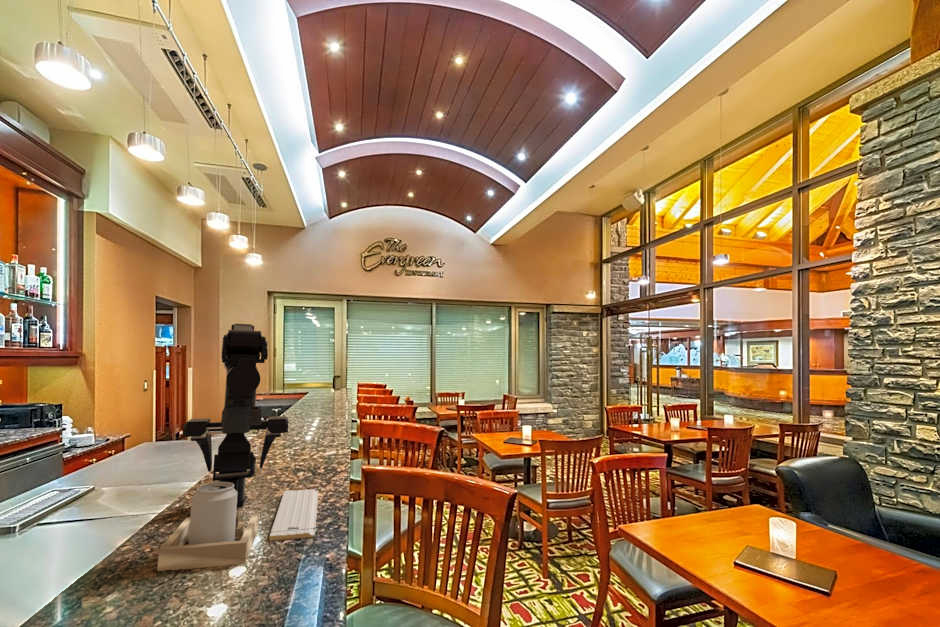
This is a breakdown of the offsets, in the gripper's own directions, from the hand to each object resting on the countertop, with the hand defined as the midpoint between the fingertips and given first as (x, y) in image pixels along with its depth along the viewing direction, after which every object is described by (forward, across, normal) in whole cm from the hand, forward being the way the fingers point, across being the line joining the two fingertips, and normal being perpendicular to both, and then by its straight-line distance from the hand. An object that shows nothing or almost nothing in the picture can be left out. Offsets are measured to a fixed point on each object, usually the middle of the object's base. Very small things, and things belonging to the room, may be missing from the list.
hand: (235, 469), depth 92 cm
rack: (+13, -3, -4) cm, 14 cm away
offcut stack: (+13, -2, +1) cm, 13 cm away
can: (+13, -3, -6) cm, 15 cm away
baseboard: (+14, +13, +10) cm, 22 cm away
